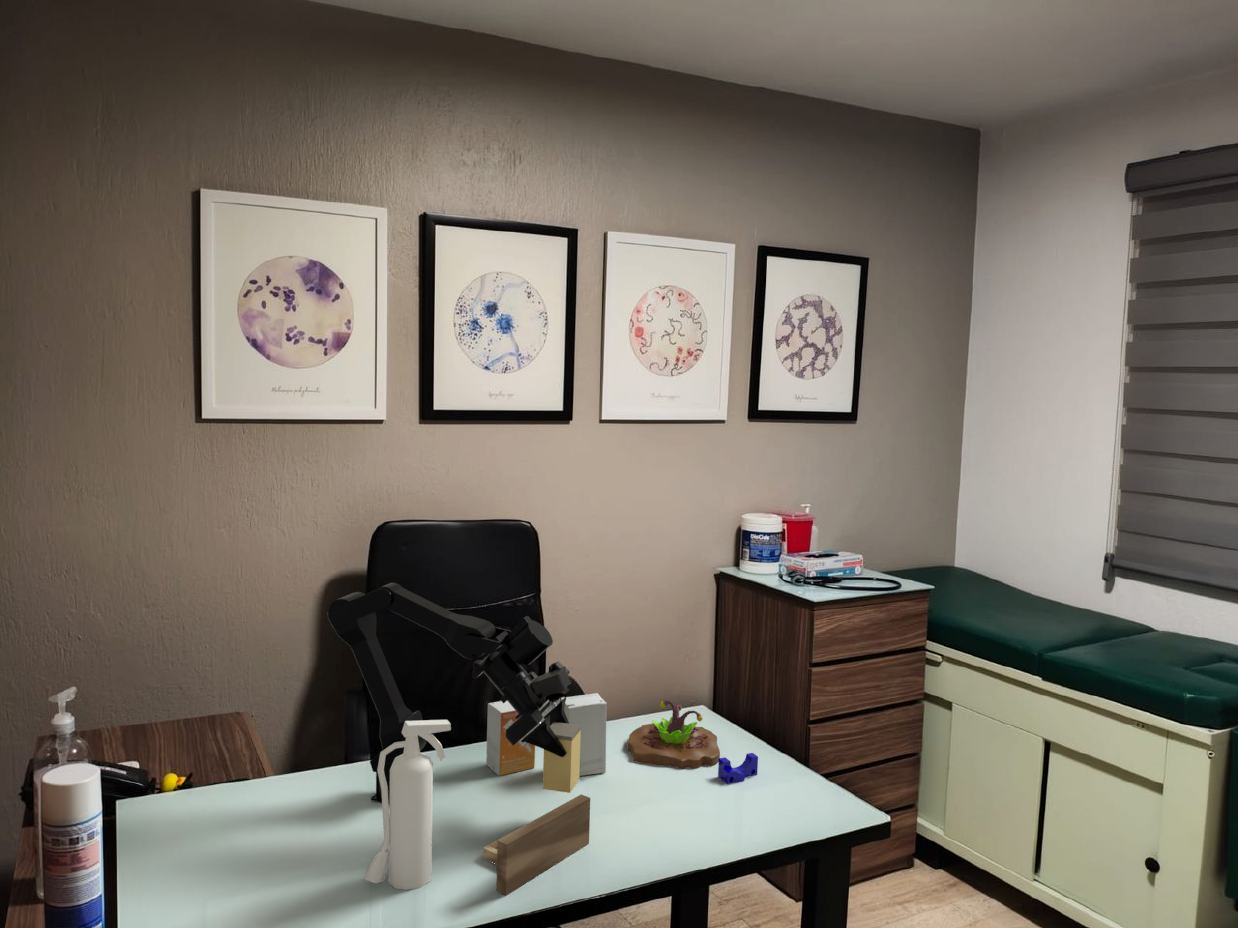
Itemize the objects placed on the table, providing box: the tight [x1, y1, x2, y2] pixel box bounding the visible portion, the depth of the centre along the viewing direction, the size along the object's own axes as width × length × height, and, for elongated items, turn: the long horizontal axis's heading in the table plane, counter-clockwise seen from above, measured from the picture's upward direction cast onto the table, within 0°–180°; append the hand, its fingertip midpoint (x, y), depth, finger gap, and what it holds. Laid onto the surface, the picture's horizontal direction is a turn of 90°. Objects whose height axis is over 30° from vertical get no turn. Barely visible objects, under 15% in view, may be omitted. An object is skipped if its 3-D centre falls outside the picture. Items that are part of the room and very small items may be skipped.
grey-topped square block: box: [542, 722, 581, 794], centre depth 154 cm, size 5×6×10 cm
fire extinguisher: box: [364, 719, 452, 891], centre depth 134 cm, size 7×12×25 cm, turn 116°
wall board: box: [482, 793, 591, 896], centre depth 142 cm, size 10×20×8 cm, turn 143°
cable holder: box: [717, 752, 759, 785], centre depth 175 cm, size 8×4×4 cm, turn 114°
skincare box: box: [560, 692, 608, 777], centre depth 175 cm, size 8×6×15 cm
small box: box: [486, 700, 536, 777], centre depth 176 cm, size 8×6×13 cm
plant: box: [626, 699, 721, 770], centre depth 188 cm, size 20×20×11 cm
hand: (569, 748), depth 153 cm, fingers closed on grey-topped square block, 5 cm apart
